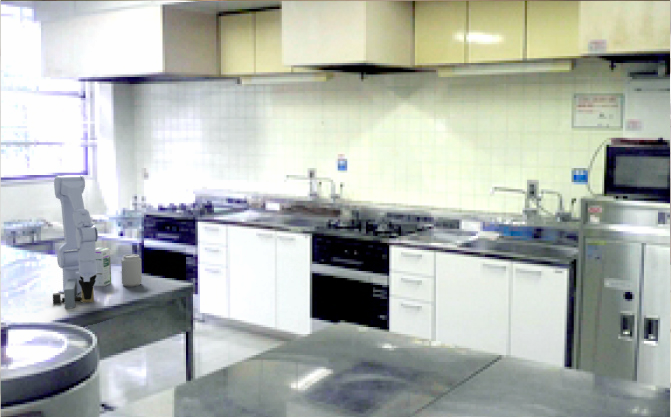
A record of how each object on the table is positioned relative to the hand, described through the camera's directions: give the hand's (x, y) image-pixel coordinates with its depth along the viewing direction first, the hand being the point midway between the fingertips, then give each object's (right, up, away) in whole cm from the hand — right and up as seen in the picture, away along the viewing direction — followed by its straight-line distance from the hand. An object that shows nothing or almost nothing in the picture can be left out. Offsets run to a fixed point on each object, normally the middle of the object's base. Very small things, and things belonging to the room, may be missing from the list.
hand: (88, 297), depth 239 cm
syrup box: (-4, +1, +25) cm, 26 cm away
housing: (-5, -2, -2) cm, 6 cm away
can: (+8, +1, +26) cm, 27 cm away
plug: (-5, -2, -1) cm, 5 cm away
